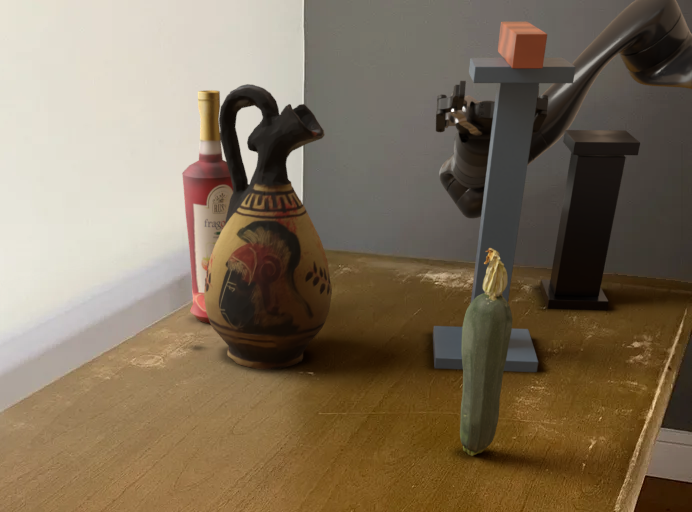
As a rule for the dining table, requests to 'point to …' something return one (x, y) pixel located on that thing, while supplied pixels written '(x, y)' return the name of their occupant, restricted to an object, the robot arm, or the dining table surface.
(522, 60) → the orange rectangular block
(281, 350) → the ceramic jug
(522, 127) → the blue display stand
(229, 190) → the liquor
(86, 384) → the dining table surface
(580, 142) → the pedestal
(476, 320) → the vegetable
